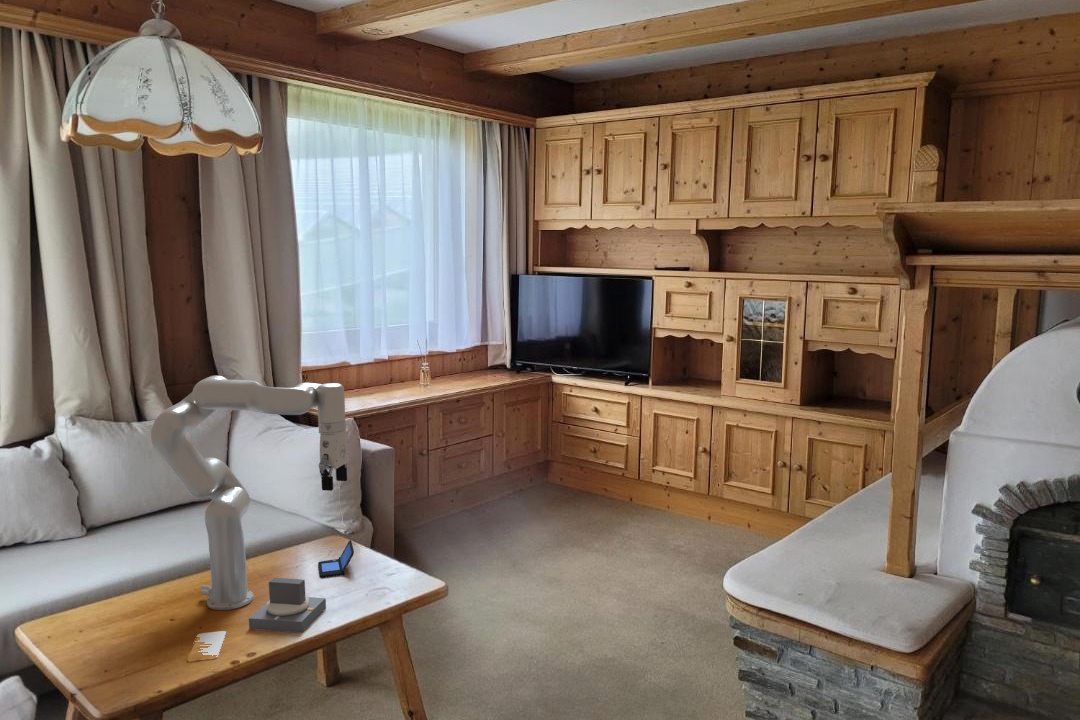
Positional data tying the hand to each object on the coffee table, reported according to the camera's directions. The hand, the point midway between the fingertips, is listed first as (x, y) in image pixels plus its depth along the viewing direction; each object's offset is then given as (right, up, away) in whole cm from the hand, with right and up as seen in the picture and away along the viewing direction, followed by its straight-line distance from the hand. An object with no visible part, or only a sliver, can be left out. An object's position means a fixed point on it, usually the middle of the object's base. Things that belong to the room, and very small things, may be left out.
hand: (334, 485), depth 231 cm
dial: (-10, -32, -11) cm, 35 cm away
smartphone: (-26, -38, -26) cm, 53 cm away
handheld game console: (-6, -31, +25) cm, 40 cm away
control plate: (-10, -35, -10) cm, 38 cm away
